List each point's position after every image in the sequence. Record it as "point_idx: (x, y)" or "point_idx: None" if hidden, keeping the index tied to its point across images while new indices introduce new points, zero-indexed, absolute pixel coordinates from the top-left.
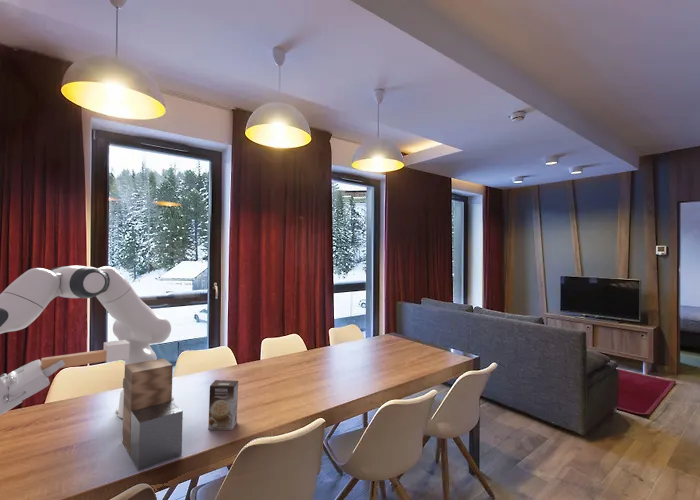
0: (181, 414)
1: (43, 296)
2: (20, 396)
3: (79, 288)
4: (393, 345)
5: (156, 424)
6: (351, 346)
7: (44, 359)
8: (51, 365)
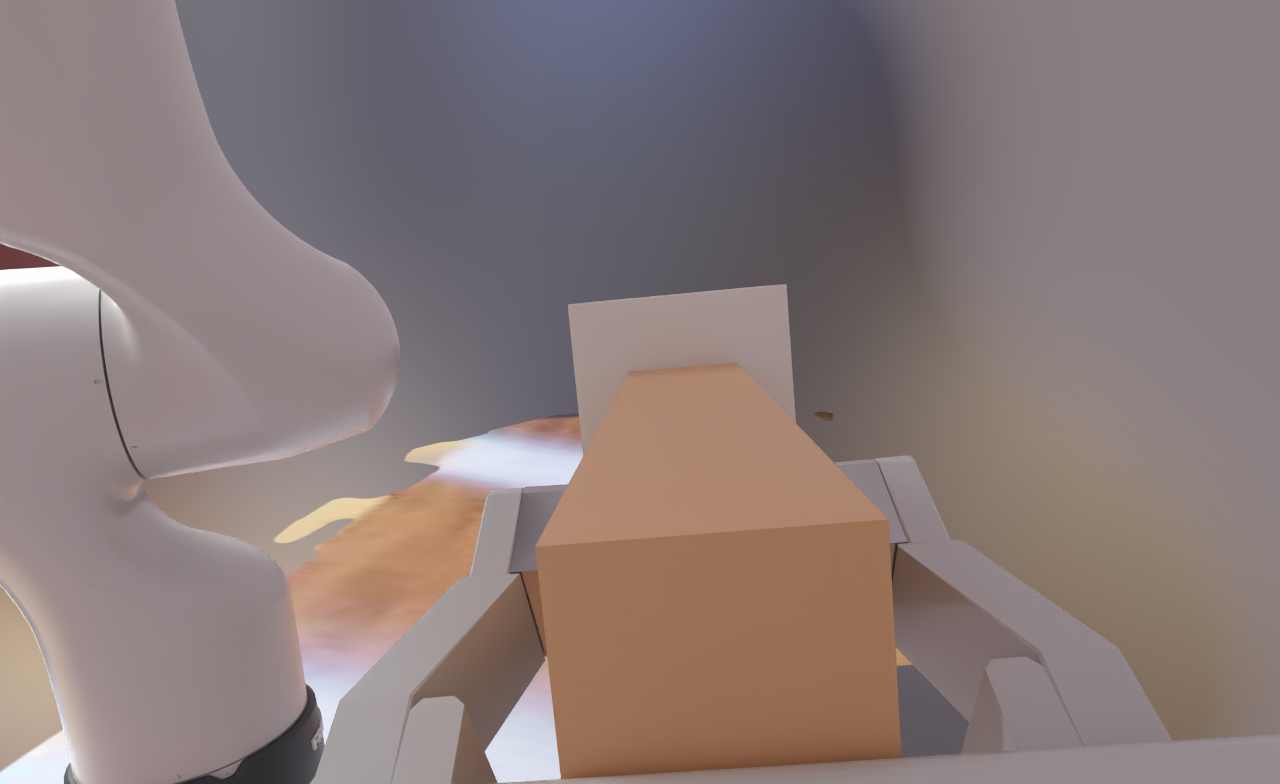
0: None
1: None
2: None
3: None
4: (578, 430)
5: None
6: (489, 456)
7: (801, 507)
8: (973, 588)
